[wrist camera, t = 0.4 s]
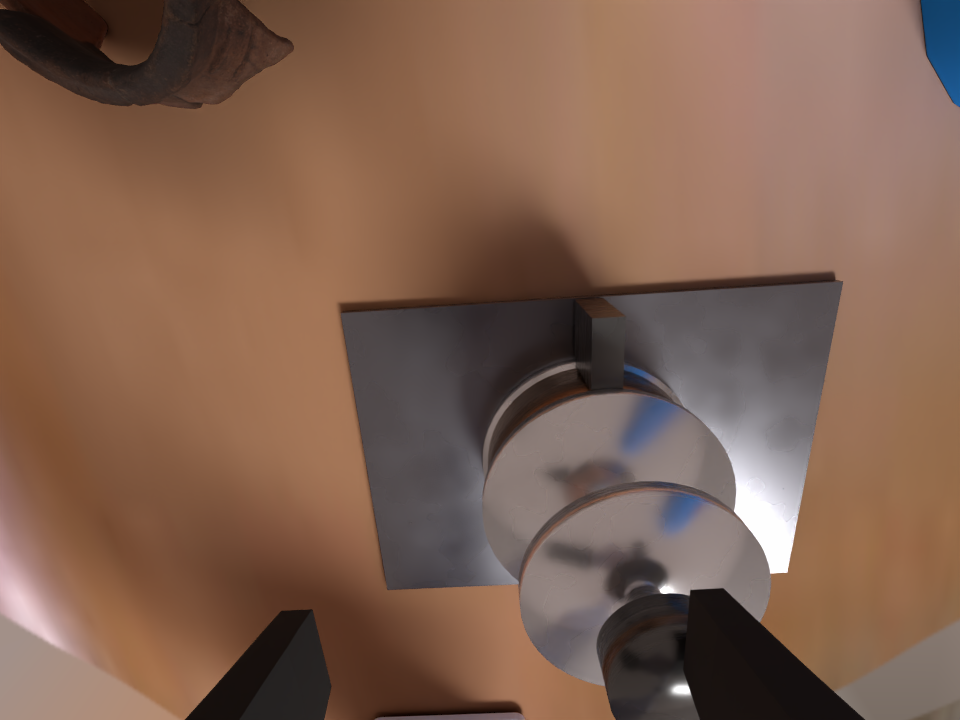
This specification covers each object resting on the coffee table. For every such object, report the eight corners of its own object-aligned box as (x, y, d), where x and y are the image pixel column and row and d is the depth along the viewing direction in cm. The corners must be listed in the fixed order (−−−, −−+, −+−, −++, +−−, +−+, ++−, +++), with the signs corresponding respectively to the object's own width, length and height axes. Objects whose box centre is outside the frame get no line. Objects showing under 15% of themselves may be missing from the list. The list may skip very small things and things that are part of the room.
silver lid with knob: (742, 663, 13) (811, 788, 10) (522, 671, 14) (532, 796, 11) (773, 474, 11) (870, 566, 8) (513, 487, 11) (523, 581, 9)
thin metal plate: (782, 567, 21) (845, 644, 17) (388, 584, 21) (369, 662, 18) (837, 280, 16) (935, 302, 13) (343, 311, 17) (305, 340, 13)
